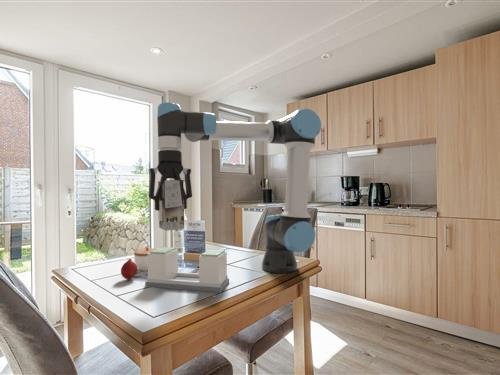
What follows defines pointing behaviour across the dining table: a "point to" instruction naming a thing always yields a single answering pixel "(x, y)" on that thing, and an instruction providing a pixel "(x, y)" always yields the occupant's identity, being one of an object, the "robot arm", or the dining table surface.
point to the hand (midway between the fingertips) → (171, 219)
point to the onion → (129, 269)
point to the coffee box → (172, 205)
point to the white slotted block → (167, 274)
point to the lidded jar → (142, 258)
